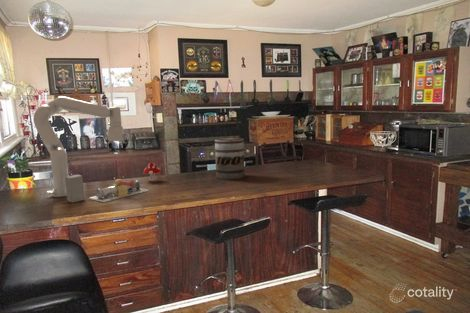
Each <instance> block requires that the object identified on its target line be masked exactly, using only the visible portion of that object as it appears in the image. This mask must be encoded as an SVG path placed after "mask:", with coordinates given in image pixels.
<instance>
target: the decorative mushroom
mask: <svg viewBox="0 0 470 313" xmlns="http://www.w3.org/2000/svg"><path fill="white" fill-rule="evenodd" d="M161 172H162V170H161V169H160V168H159V167H157V165H156V163H154V162H151V161H150V162H149V163H148V165H147V166H146V167H145V168H144V170H143V172H142V174H144V175H149V178H148V181H149V182H156V181H157V177H156V174H159V173H161Z"/></svg>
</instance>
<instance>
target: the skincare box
mask: <svg viewBox="0 0 470 313" xmlns="http://www.w3.org/2000/svg"><path fill="white" fill-rule="evenodd" d="M65 182H66V191H67V196H66V199H67V202H68V203H71V202H72V203H71V204H74V203H77V202H81V201H84V200H85V190H84V179H83V175H80V174H73V175H69V176H68V177H65ZM73 202H74V203H73Z"/></svg>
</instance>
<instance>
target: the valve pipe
mask: <svg viewBox="0 0 470 313" xmlns="http://www.w3.org/2000/svg"><path fill="white" fill-rule="evenodd" d="M147 192H149V189H147V188H142V182H141V180H134V186H132V187H131V186H126V185H120V184H118V185H117V184H116V183H114V184H111V186H108V187H104V188H96V190H95V195H94V196H90V197H88V199H89V200H92V201H95V202H101V203H106V202H112V201H115V200H119V199H123V198H126V197H131V196H134V195H139V194H143V193H147Z"/></svg>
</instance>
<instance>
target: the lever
mask: <svg viewBox="0 0 470 313" xmlns="http://www.w3.org/2000/svg"><path fill="white" fill-rule="evenodd" d="M114 182H115V183H114V184H117V185H118V184H120V185H126V186H131V187H132V186H134V182H135V180H129V181H127V180H123V179H122V178H118V179H115V181H114Z"/></svg>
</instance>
